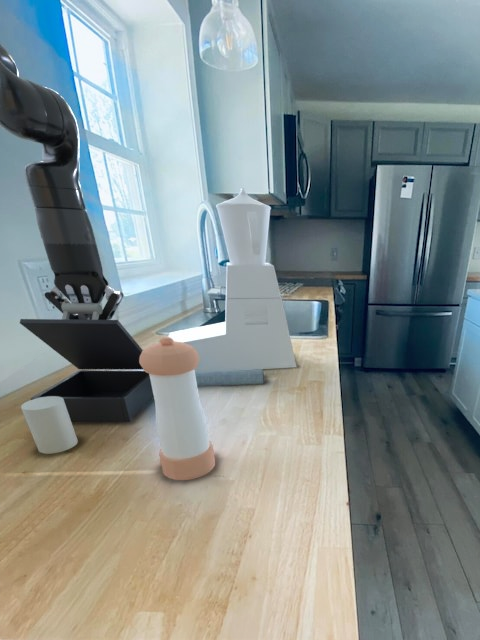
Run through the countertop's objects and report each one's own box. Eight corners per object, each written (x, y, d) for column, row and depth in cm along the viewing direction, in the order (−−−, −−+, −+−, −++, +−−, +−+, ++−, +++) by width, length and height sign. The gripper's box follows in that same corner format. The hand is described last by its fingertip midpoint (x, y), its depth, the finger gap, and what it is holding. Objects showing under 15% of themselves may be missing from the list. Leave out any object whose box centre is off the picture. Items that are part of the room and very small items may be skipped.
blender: (161, 377, 88) (121, 176, 69) (170, 356, 103) (140, 187, 85) (297, 370, 95) (294, 186, 76) (286, 351, 111) (281, 195, 92)
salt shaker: (188, 488, 49) (161, 348, 40) (152, 473, 52) (119, 339, 43) (226, 463, 55) (209, 335, 46) (191, 451, 58) (169, 328, 49)
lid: (117, 323, 61) (121, 295, 62) (19, 323, 60) (26, 294, 61) (155, 369, 76) (158, 346, 78) (78, 369, 75) (83, 345, 77)
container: (32, 458, 55) (11, 409, 52) (52, 441, 60) (35, 396, 56) (67, 457, 56) (50, 409, 52) (85, 441, 60) (70, 396, 56)
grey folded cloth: (160, 391, 80) (157, 376, 79) (166, 380, 86) (163, 366, 84) (264, 386, 84) (263, 372, 82) (263, 376, 90) (262, 363, 88)
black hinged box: (131, 425, 65) (124, 398, 63) (40, 426, 64) (30, 398, 62) (161, 393, 79) (156, 369, 77) (87, 393, 78) (79, 369, 76)
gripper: (120, 241, 64) (142, 339, 73) (42, 239, 64) (73, 339, 72) (100, 242, 58) (126, 350, 66) (12, 240, 57) (50, 349, 65)
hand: (98, 344), depth 69 cm, fingers closed
